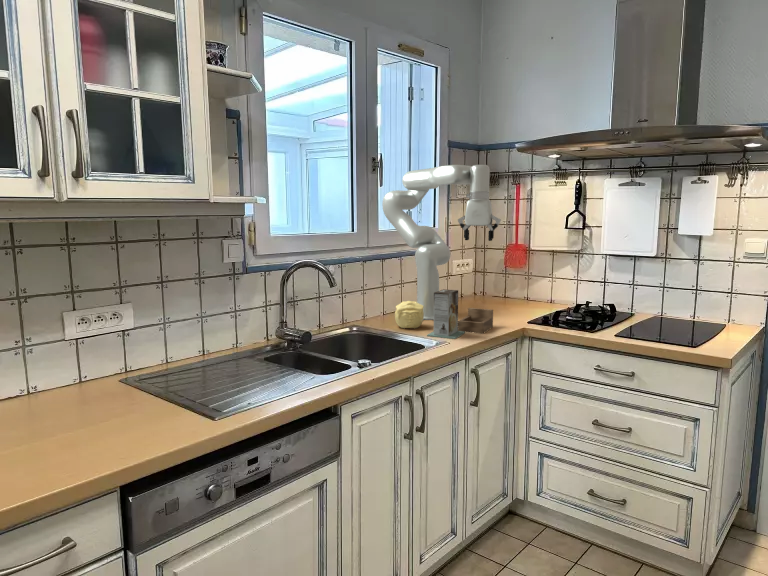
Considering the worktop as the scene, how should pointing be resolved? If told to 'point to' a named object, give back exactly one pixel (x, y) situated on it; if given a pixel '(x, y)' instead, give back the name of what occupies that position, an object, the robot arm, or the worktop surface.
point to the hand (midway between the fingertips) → (478, 240)
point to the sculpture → (409, 314)
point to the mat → (447, 336)
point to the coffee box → (445, 312)
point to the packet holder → (476, 321)
